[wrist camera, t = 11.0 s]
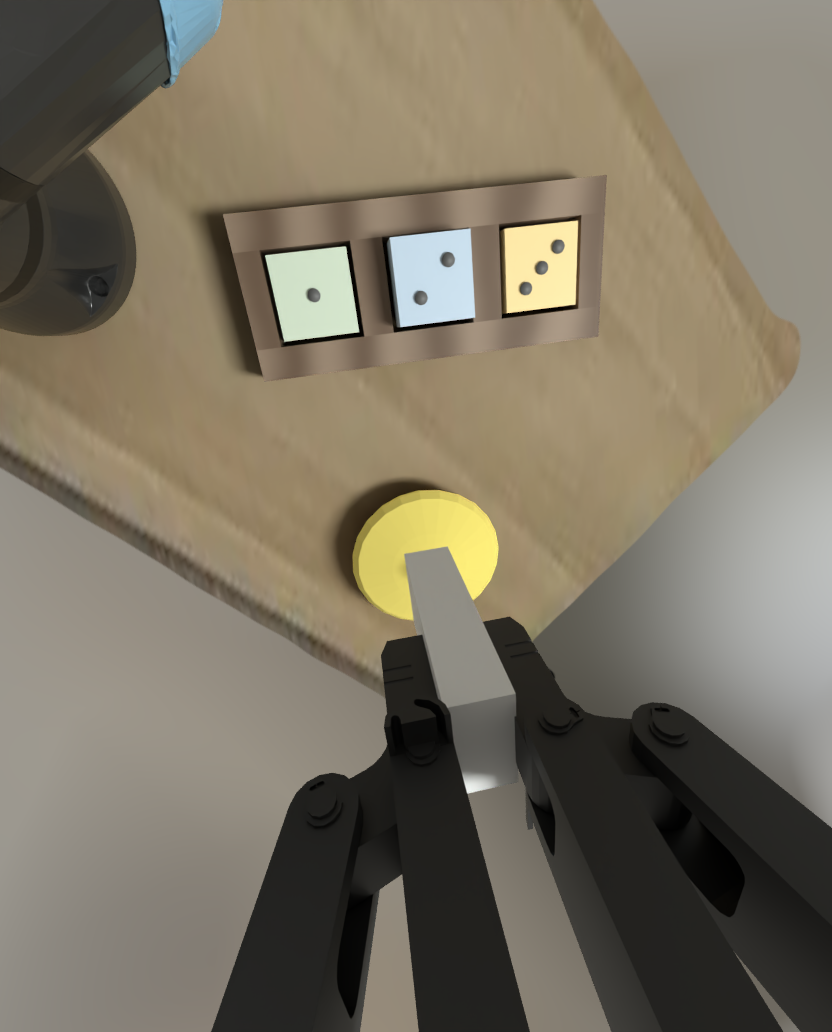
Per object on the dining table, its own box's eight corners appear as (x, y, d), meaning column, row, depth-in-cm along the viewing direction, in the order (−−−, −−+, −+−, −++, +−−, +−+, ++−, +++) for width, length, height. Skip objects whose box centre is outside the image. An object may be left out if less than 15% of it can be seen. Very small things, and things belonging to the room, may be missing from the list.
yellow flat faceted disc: (383, 459, 45) (390, 481, 38) (514, 508, 49) (539, 535, 43) (331, 585, 50) (329, 623, 43) (454, 619, 54) (469, 659, 48)
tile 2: (396, 327, 38) (400, 327, 35) (386, 244, 35) (390, 236, 33) (466, 318, 39) (475, 317, 36) (461, 236, 36) (471, 228, 33)
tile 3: (496, 314, 40) (507, 313, 38) (493, 235, 38) (505, 228, 35) (560, 306, 41) (576, 304, 38) (561, 228, 38) (579, 220, 36)
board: (269, 377, 40) (264, 381, 37) (232, 222, 35) (222, 214, 32) (582, 335, 43) (598, 336, 40) (587, 186, 38) (606, 175, 35)
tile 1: (288, 340, 39) (284, 341, 36) (271, 260, 36) (264, 254, 33) (358, 331, 39) (359, 332, 36) (345, 252, 37) (345, 245, 34)
